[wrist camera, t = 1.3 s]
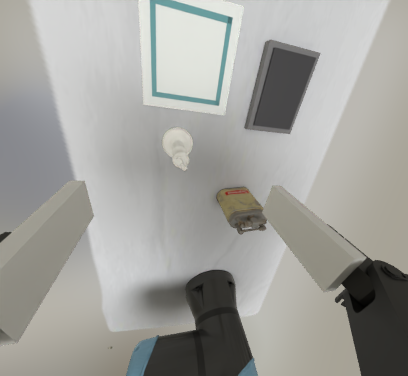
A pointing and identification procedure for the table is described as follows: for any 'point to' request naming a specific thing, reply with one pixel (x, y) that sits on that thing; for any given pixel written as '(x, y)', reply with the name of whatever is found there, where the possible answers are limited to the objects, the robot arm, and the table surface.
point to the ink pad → (280, 87)
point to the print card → (188, 53)
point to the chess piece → (178, 146)
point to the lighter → (241, 209)
